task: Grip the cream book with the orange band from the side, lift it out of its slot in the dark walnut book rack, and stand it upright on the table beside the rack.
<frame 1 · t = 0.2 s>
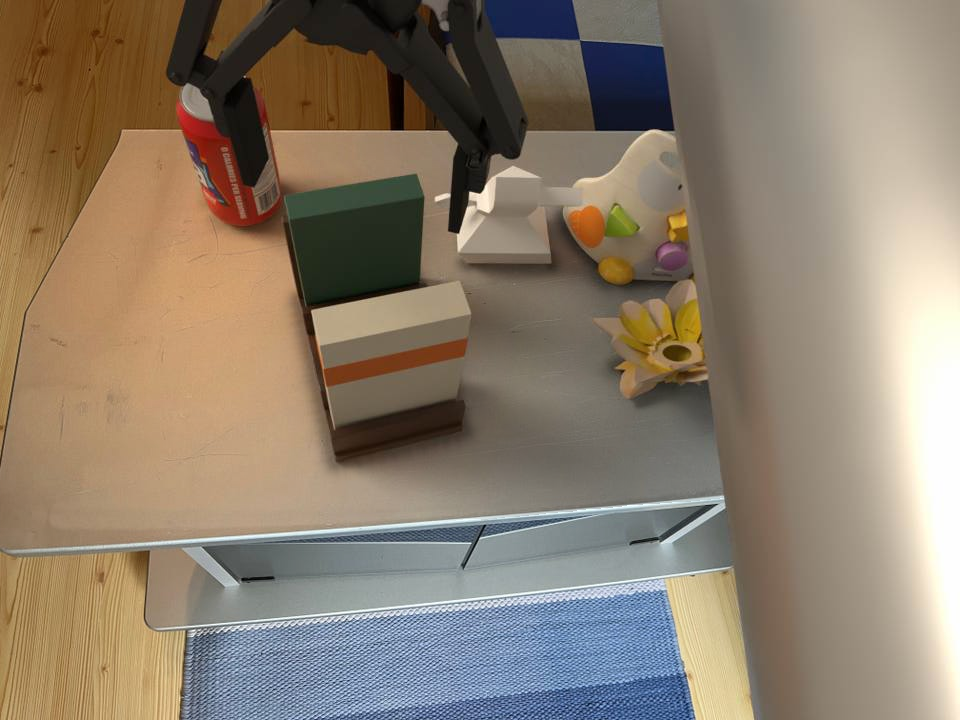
hand: (356, 194, 49), 26 cm above the table, tool pointing down, fingers open, 13 cm apart
white angular piece: (495, 242, 81), on the table
decorative flower: (665, 357, 76), on the table
book: (392, 412, 69), point 1 cm above the table, touching book rack
book rack: (377, 362, 72), on the table
green book: (362, 301, 74), point 1 cm above the table, touching book rack
soda can: (246, 202, 80), on the table
apple: (791, 331, 79), on the table
shape sorter: (651, 251, 83), on the table
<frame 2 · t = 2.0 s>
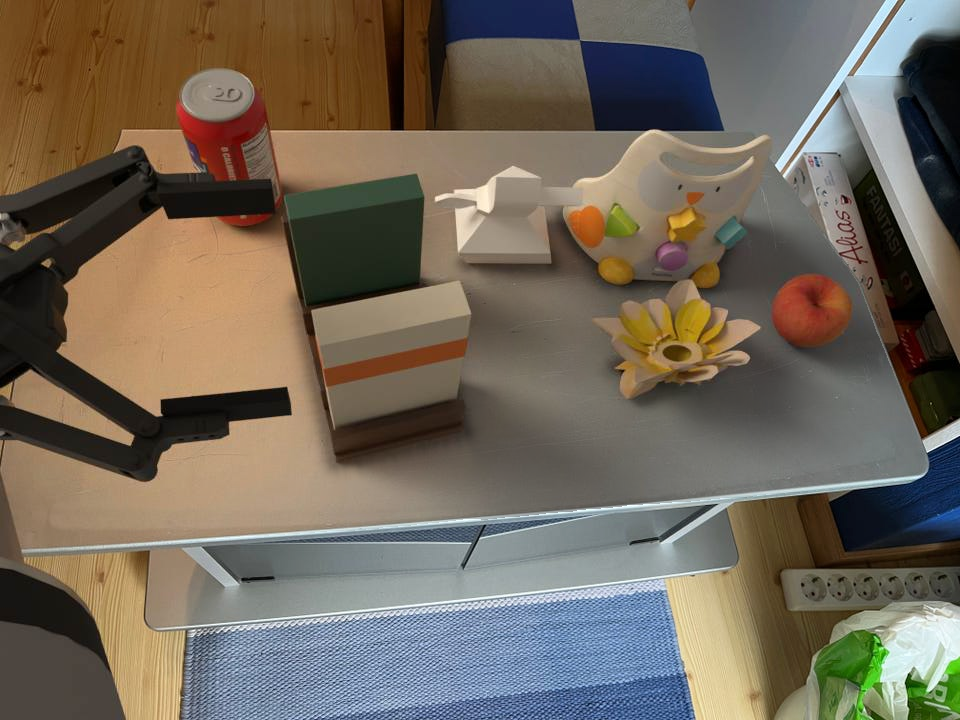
hand: (282, 293, 44), 27 cm above the table, tool horizontal, fingers open, 13 cm apart
nothing on the table moved.
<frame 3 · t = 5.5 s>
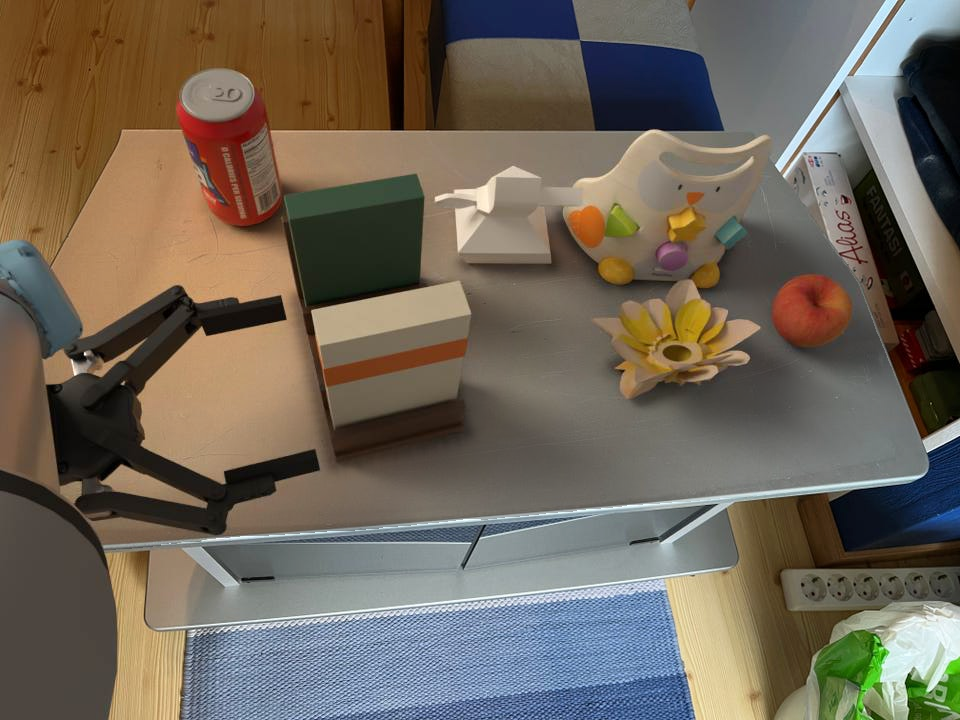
hand: (300, 379, 58), 12 cm above the table, tool horizontal, fingers open, 13 cm apart
nothing on the table moved.
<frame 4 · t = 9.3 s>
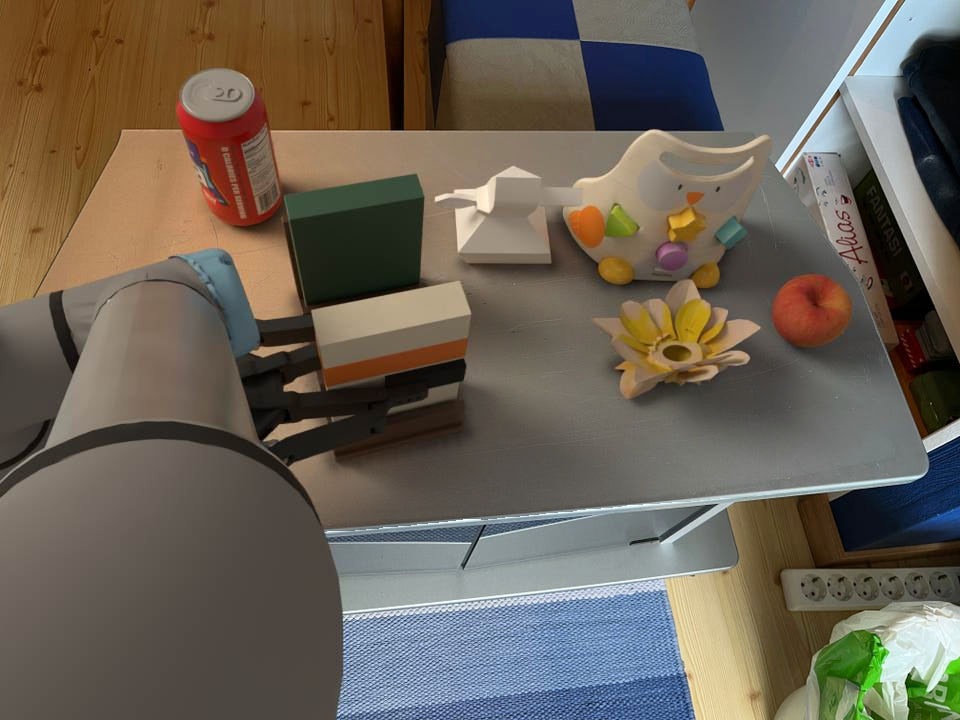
hand: (456, 350, 61), 11 cm above the table, tool horizontal, fingers closed on book, 3 cm apart
book: (392, 412, 69), point 1 cm above the table, touching gripper
everything else where it was.
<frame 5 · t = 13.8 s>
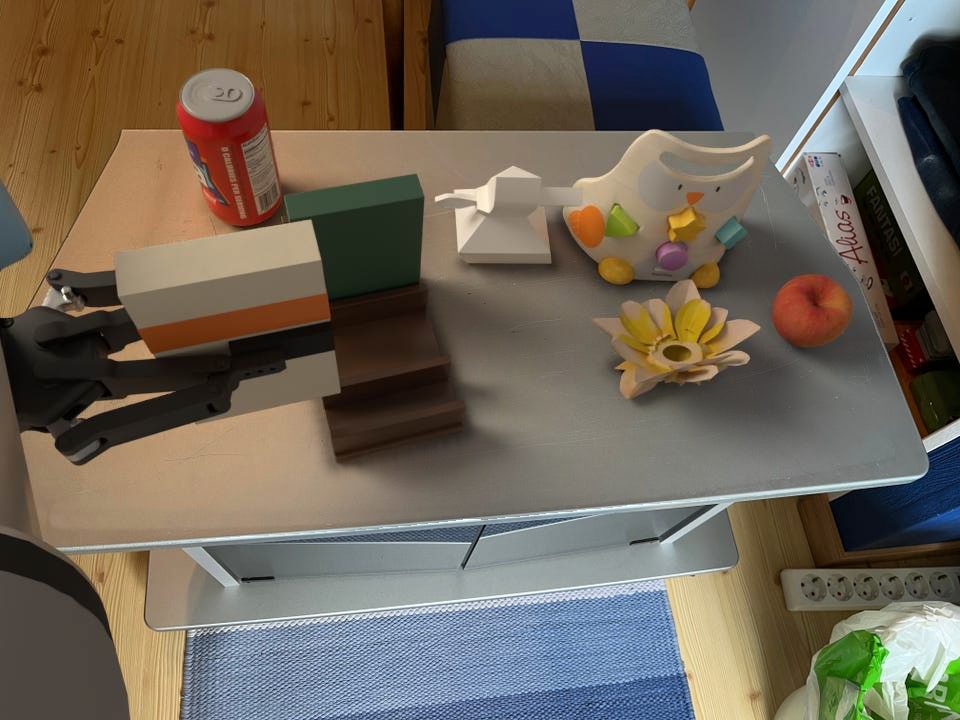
hand: (326, 312, 50), 21 cm above the table, tool horizontal, fingers closed on book, 3 cm apart
book: (266, 391, 58), point 11 cm above the table, touching gripper
everything else where it was.
when the fingers open (10 cm above the table, at t = 18.5 s): book stays where it is, on the table.
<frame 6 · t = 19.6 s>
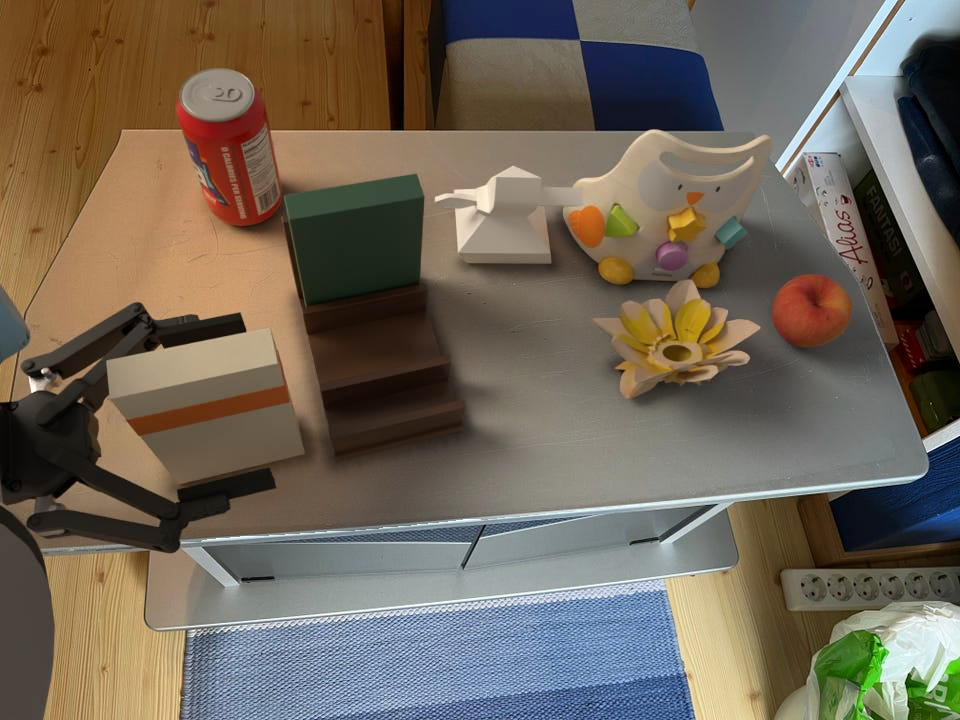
hand: (258, 397, 58), 11 cm above the table, tool horizontal, fingers open, 13 cm apart
book: (240, 453, 67), on the table
everything else where it was.
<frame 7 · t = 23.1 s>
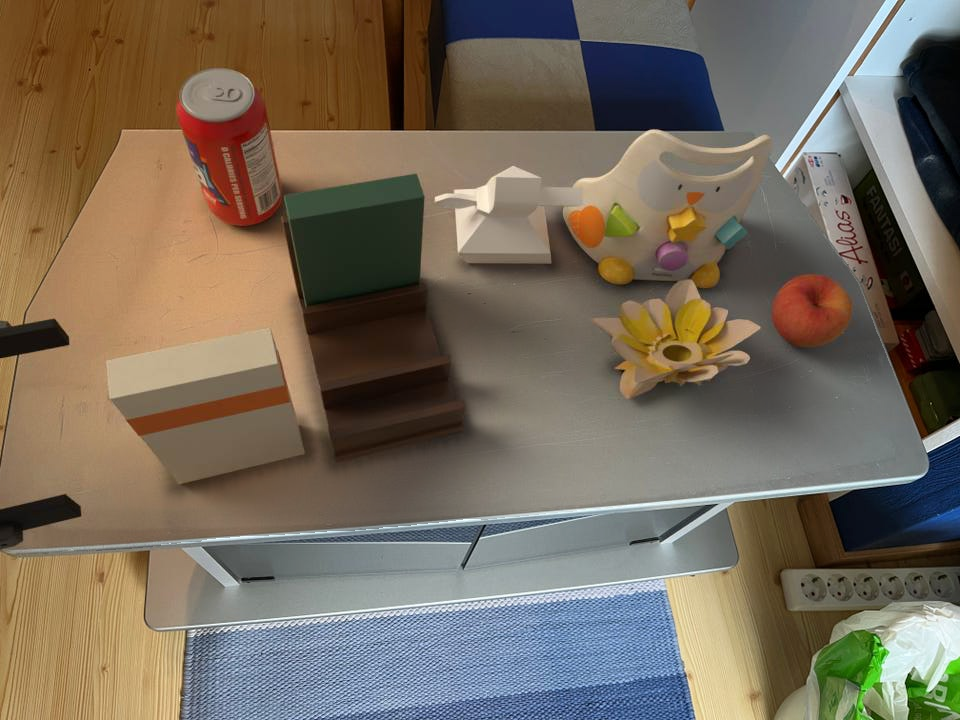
hand: (68, 413, 52), 14 cm above the table, tool horizontal, fingers open, 13 cm apart
nothing on the table moved.
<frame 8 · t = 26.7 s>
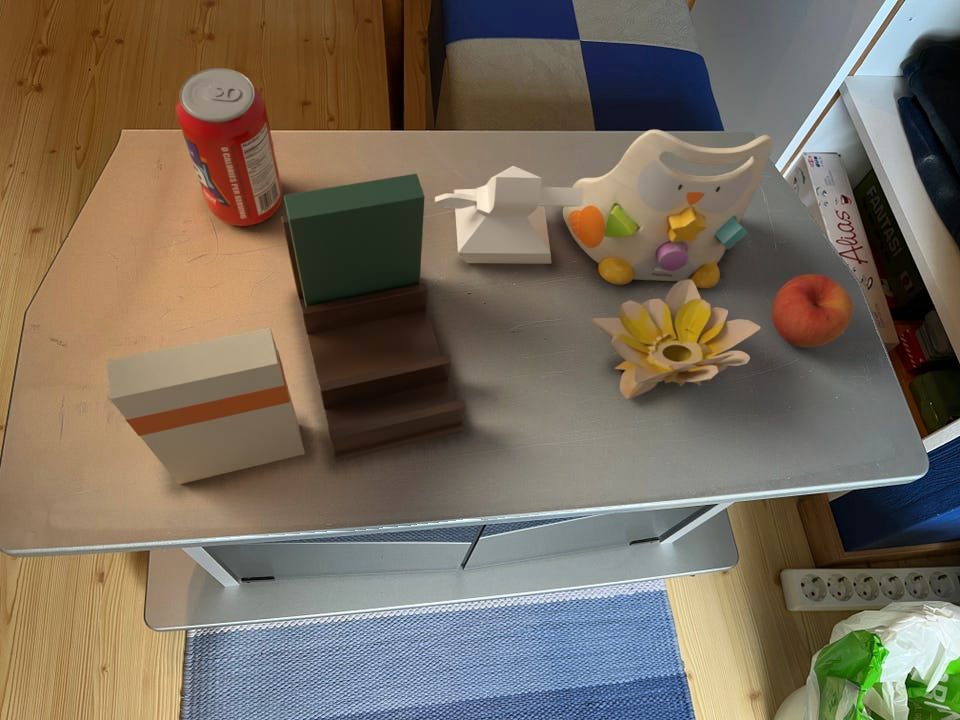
nothing on the table moved.
at the end: book inside the target area (0.1 cm from its centre), on the table; book tilted 0°; the gripper is holding nothing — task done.
